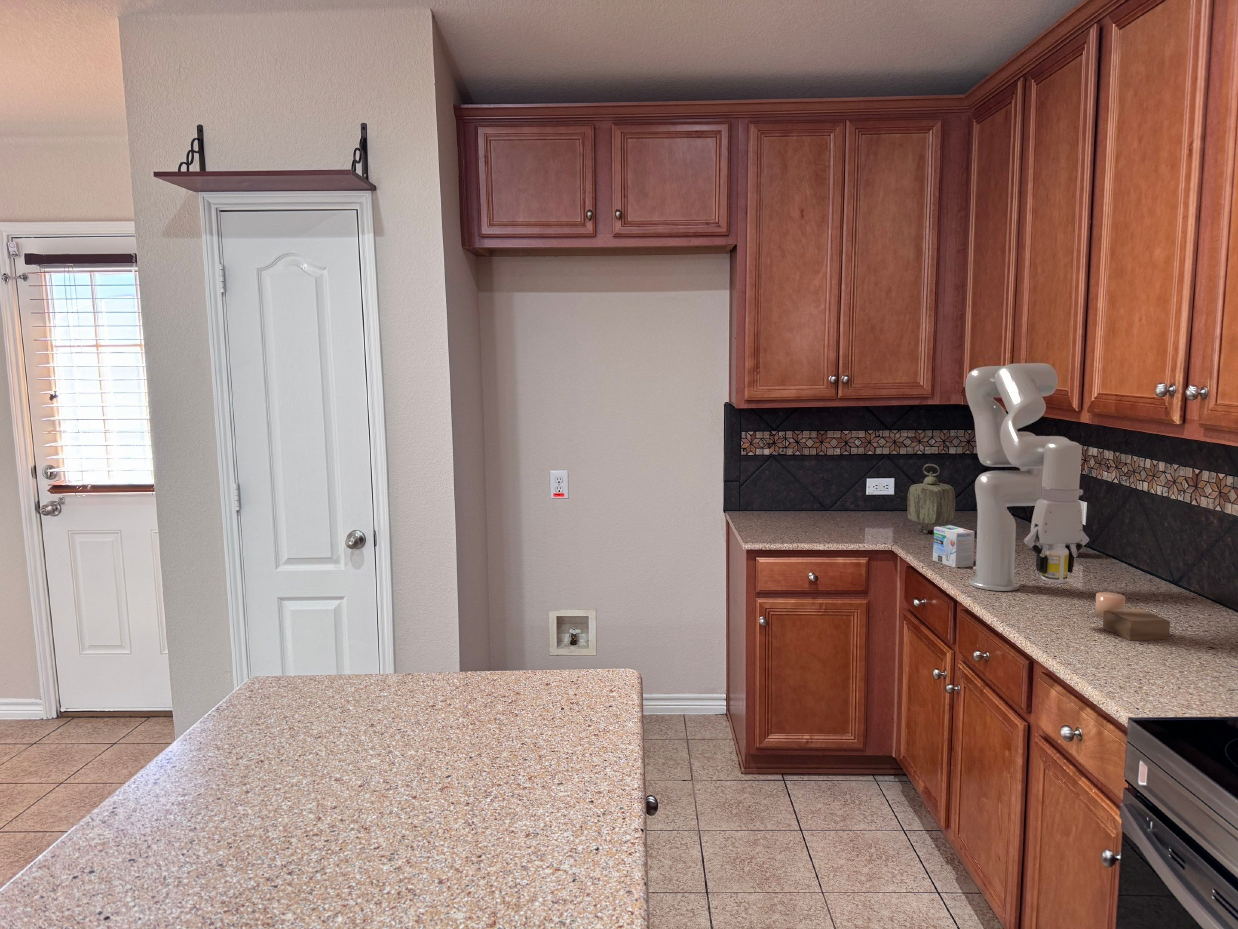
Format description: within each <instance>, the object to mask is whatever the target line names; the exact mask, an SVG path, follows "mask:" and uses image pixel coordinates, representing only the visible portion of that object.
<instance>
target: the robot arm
mask: <svg viewBox="0 0 1238 929" xmlns="http://www.w3.org/2000/svg"><path fill="white" fill-rule="evenodd" d="M1058 384H1059V378H1058V373H1057V371H1056V370H1055V369H1054V367H1053V366H1052V365H1051V364H1048V363H1044V362H1033V363H1032V362H1031V363H1030V362H1029V363H1021V362H1020V363H1018V362H1017V363H1009V364H1006V365H995V366H994V365H991V366H990V365H989V366H980V367H975V368H974V369H972V370H971V371H970V372H969V373H968V374H967V377H966V380H965V386H964V387H965V389H964V390H965V397H966V400H967V403H968V406H969V410H970V411H971V414H972V416H973V422H974V432H975V442H976V452H977V457H978V459H979V462H980V463H981V465H983V466H985V467H995V468H996V467H999V468H1000V467H1001V468H1003V467H1004V468H1005V467H1014V468H1015V467H1016V468H1019V470H990V471H986V472H982V473H980V474H979V475H978V477H977V478H976V479H975V482H974V490H975V491H974V492H975V498H976V499H975V500H976V510H977V521H976V524H977V526H976V552H975V553H976V554H975V555H976V556H975V566H974V565H973V566H972V570H974V571H975V575H974V576H972V577H970V578H969V579H968V580H969V581H968V584H969V585H970V586H972V587H974V588H978V589H981V590H985V591H986V590H987V591H995V592H996V591H997V592H1010V591H1017V590H1019V589H1020V587H1021V583H1020V582H1019V581H1018V580H1015V579H1014V576H1015V558H1016V557H1015V555H1016V535H1017V534H1016V533H1017V530H1016V529H1017V528H1016V527H1017V523H1016V520H1015V518H1014V517H1013V515H1012V513H1011V512H1009V509H1008V508H1007V507H1028V506H1029V507H1032V506H1034V509H1033V514H1032V518H1031V523H1030V524H1031V525H1030V533H1028V535H1027V536H1026V537H1025V538H1024V539H1023V543H1024V544H1026V546H1028V547H1029V548H1030V549H1031V551H1033V553H1034V554H1035V555H1036V556H1035V557H1036V558H1035V568H1036V571H1037V572H1039V573H1043V574H1046V573H1047V565H1048V557H1046V553H1047V551H1048V548H1049V546H1050V545H1055V544H1066V545H1065V548H1067V549H1068V551H1069V558H1068V573H1070V574H1071V573H1073V571H1074V566H1075V558H1074V556H1076V555H1077V552H1078V551H1079V552H1080V550H1081V549H1083V547H1084V546H1085V545H1086V544H1087V543H1088V542H1089V541H1090V538H1089V537H1088V535H1086V533H1085V532H1084V531H1083V509H1082V505H1081V504H1082V503H1081V501H1079V497H1080V496H1082V495H1084V490H1083V489H1082V488H1081V489H1080V480H1081V467H1082V455H1083V453H1082V452H1083V449H1082V445H1081V444H1080V443H1078V442H1077V441H1072V440H1070V439H1068V438H1067V437H1065V436H1060V435H1049V436H1048V435H1047V436H1046V435H1036V434H1034V433H1032V432H1030V431H1018V430H1019V429H1021V428H1024V427H1026V426H1029V425H1031V424H1032V423H1035V422H1036V421H1038V420H1039V419H1040V418H1042V417H1043V415H1044V414H1045V412H1046V409H1047V406H1046V402H1045V400H1044V398H1043V397H1048V396H1052V395H1053V394H1054V393H1055V392H1056V390H1057V388H1058ZM994 398H1001V399H1002V402H1003V404H1004V406H1005V408H1006V410H1005V409H1004V408H1003V406H1002V405H1001V404H1000V403H999V402H998V401H996V400H995V399H994ZM1006 411H1007V412H1008V413H1007V412H1006ZM1034 541H1036V542H1037V543H1035V542H1034ZM1077 556H1078V555H1077ZM1077 556H1076V557H1077Z"/></svg>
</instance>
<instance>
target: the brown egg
mask: <svg viewBox="0 0 1238 929" xmlns="http://www.w3.org/2000/svg"><path fill="white" fill-rule="evenodd" d="M1125 607H1126V596H1125V595H1124V594H1121V593H1116V592H1110V591H1109V592H1108V591H1101V592H1099V591H1098V592H1096V594H1095V610H1094V614H1095V616H1097V617H1099V618H1102V619H1103V615H1104V611H1107V610H1124V609H1126V608H1125Z"/></svg>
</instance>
